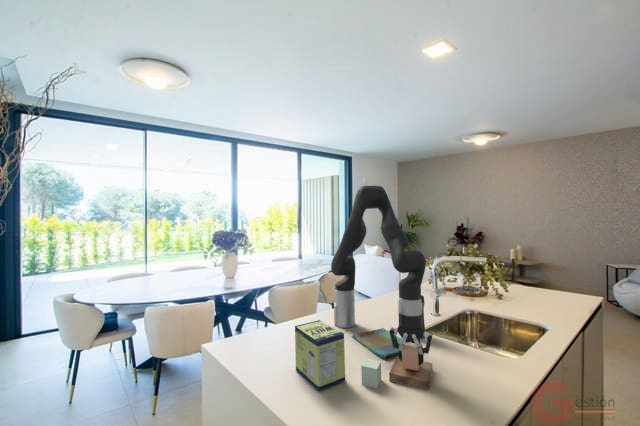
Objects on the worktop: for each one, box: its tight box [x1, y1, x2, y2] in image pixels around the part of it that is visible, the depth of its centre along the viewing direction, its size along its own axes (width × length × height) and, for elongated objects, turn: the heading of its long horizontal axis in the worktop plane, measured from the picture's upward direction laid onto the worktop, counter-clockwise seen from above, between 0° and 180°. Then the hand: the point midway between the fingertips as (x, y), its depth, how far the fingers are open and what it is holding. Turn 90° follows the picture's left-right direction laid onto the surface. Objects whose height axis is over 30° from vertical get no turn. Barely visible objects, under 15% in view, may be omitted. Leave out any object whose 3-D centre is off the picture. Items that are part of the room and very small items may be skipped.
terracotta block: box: [402, 342, 420, 371], centre depth 98 cm, size 5×5×6 cm
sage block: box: [361, 358, 382, 389], centre depth 94 cm, size 5×5×6 cm
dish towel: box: [351, 327, 411, 361], centre depth 122 cm, size 17×23×2 cm
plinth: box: [388, 357, 434, 390], centre depth 98 cm, size 12×12×2 cm
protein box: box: [294, 319, 346, 392], centre depth 99 cm, size 10×16×16 cm
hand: (411, 362), depth 98 cm, fingers closed on terracotta block, 5 cm apart
